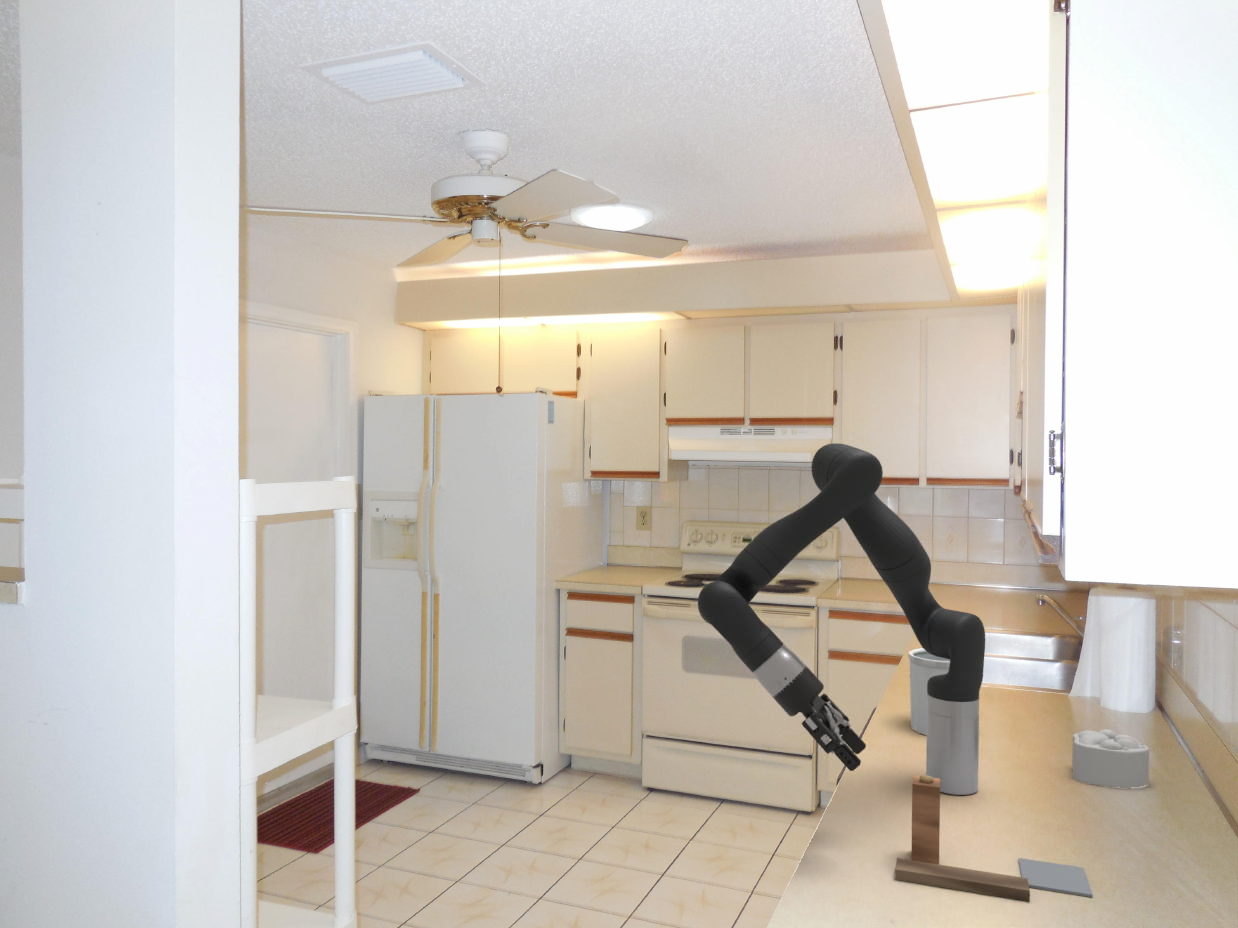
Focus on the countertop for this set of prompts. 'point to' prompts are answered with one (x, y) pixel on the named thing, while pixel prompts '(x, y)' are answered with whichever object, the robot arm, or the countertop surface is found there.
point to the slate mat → (1055, 877)
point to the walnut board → (962, 879)
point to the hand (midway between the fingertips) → (859, 758)
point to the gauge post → (925, 819)
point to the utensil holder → (923, 684)
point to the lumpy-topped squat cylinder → (1109, 759)
